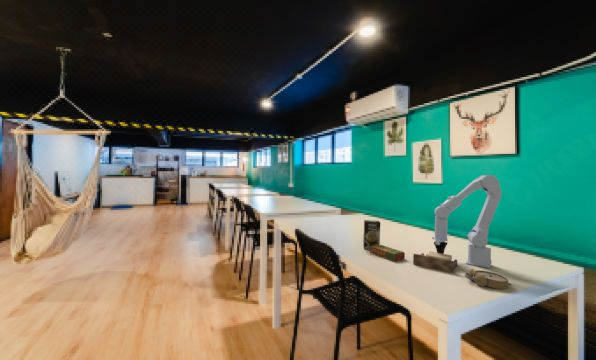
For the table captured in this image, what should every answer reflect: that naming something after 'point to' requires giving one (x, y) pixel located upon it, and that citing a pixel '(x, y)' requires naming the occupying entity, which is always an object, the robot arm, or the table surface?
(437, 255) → the small carton
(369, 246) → the coffee box
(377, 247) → the carton
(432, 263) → the frame
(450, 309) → the table surface
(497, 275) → the alarm clock
